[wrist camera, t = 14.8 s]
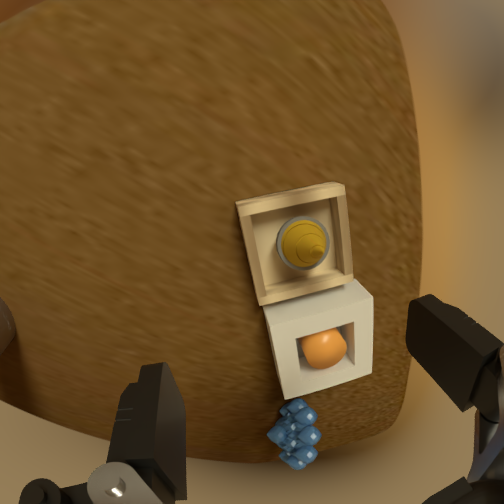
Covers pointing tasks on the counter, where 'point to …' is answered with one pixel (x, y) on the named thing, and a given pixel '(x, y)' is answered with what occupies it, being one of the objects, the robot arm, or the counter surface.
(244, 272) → the counter surface
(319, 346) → the button
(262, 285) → the tray
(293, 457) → the grapes
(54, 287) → the counter surface
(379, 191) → the counter surface
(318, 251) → the drill bit
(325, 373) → the frame
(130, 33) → the counter surface
